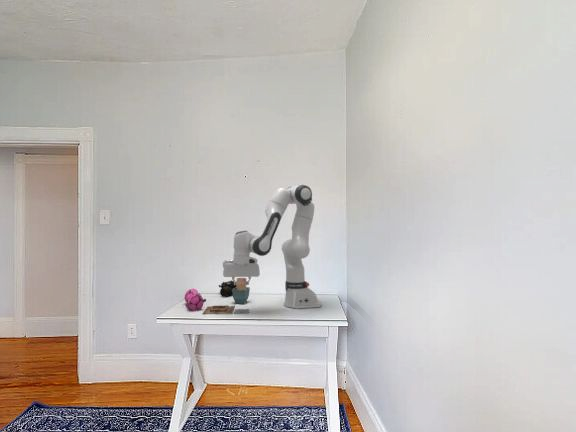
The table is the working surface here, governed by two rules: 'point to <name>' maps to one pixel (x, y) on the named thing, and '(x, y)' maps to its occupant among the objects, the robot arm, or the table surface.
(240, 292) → the flower pot
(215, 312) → the socket board
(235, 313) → the mat
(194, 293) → the pencil case
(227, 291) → the film camera
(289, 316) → the table surface
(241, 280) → the toggle lever handle
